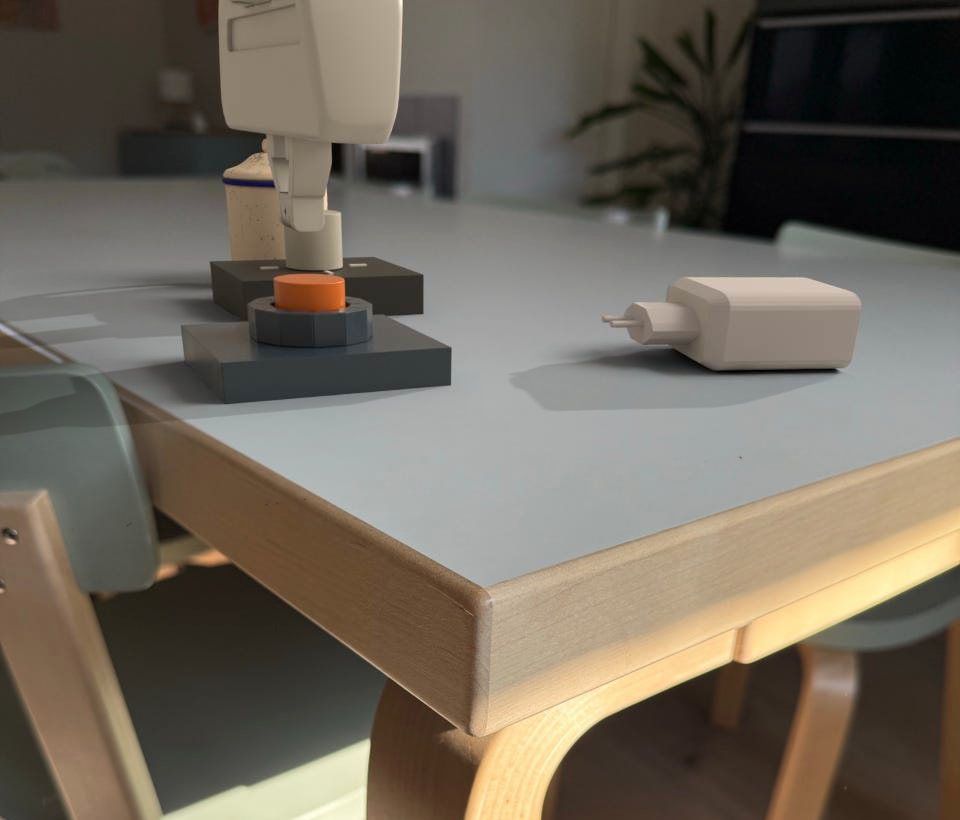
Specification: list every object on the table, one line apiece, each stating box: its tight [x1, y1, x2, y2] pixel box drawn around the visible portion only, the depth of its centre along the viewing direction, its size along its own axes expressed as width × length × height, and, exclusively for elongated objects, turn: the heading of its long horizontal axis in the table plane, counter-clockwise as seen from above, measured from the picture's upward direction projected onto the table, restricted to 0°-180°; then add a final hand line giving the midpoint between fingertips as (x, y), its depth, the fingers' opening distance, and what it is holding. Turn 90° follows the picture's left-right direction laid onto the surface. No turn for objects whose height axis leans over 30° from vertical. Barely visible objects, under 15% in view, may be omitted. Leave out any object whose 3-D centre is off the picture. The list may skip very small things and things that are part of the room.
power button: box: [273, 274, 345, 311], centre depth 56 cm, size 4×4×2 cm
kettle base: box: [209, 256, 425, 322], centre depth 78 cm, size 14×11×3 cm
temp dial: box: [284, 209, 344, 271], centre depth 76 cm, size 4×4×4 cm
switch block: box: [180, 296, 453, 405], centre depth 58 cm, size 13×11×4 cm
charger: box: [601, 276, 863, 371], centre depth 64 cm, size 5×9×15 cm
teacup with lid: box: [221, 138, 330, 261], centre depth 87 cm, size 12×9×12 cm
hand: (301, 229), depth 55 cm, fingers closed
